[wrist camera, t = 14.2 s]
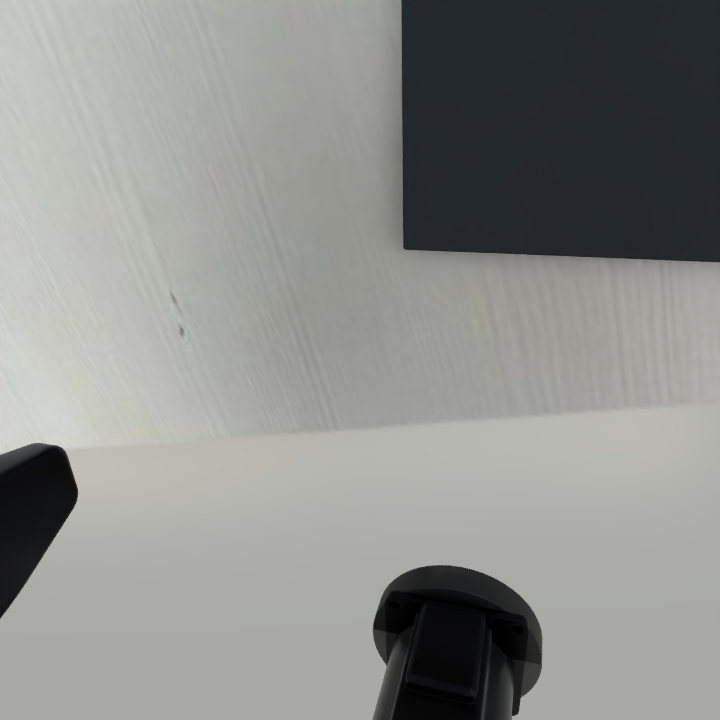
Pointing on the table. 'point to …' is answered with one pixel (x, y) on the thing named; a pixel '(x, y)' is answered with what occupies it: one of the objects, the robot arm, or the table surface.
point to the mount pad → (562, 127)
